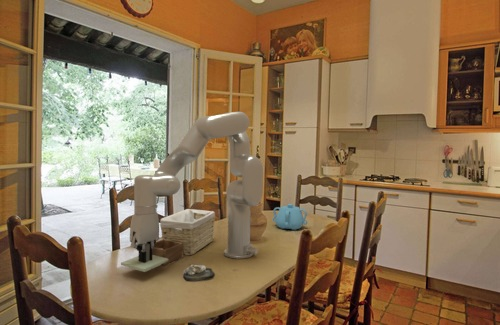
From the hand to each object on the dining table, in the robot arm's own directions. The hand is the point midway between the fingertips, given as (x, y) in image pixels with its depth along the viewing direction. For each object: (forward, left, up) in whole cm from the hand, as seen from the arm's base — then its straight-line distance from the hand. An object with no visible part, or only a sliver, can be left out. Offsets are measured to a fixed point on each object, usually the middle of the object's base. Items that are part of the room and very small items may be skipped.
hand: (145, 260), depth 115 cm
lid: (0, 0, -2) cm, 2 cm away
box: (+4, -13, -5) cm, 15 cm away
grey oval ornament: (-18, -8, -5) cm, 20 cm away
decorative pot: (-20, -88, -5) cm, 90 cm away
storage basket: (+6, -31, -5) cm, 32 cm away
